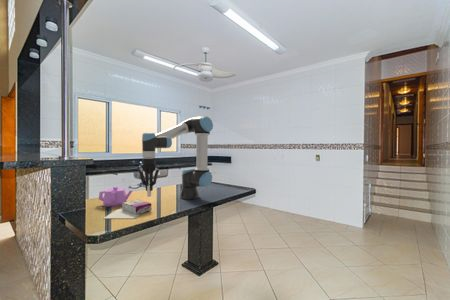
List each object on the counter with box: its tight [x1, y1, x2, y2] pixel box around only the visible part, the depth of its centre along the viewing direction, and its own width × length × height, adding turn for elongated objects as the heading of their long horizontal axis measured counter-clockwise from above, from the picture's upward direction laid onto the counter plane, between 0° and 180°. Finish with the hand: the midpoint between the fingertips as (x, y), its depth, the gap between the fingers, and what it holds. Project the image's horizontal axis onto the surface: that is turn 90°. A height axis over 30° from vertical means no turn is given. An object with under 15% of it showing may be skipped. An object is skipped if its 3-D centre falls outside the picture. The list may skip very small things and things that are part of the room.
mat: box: [103, 208, 142, 220], centre depth 138 cm, size 18×18×1 cm
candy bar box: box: [121, 199, 153, 215], centre depth 145 cm, size 11×5×16 cm
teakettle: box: [98, 186, 133, 207], centre depth 161 cm, size 17×17×12 cm
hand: (149, 196), depth 139 cm, fingers closed
